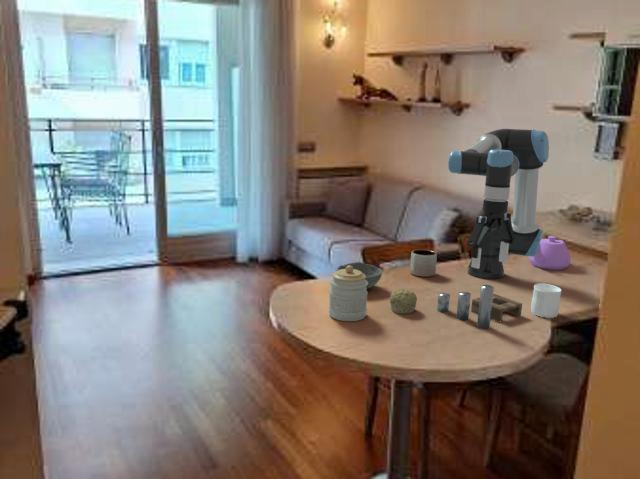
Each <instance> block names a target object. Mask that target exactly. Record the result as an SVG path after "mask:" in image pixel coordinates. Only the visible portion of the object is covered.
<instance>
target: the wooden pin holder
mask: <svg viewBox="0 0 640 479" xmlns="http://www.w3.org/2000/svg"><path fill="white" fill-rule="evenodd" d="M479 302H480V297H476V298H473V299H472V301H471V310H470V312H472V313H474V314H476V315H478V312H479ZM522 309H523V303H522V302H519V301H516V300H513V299H510V298H508V297H505V296H502V295H499V294H496V293H493V300H492V310H491V319H490V320H492V321H494V320H495V321H494V322H497V323H501V322H503V314H504V312H505V313H507V314H510V313H511V315H513V314H514V316H516V317H520V315H521V316H522ZM500 321H501V322H500Z"/></svg>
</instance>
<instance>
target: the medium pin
mask: <svg viewBox="0 0 640 479" xmlns="http://www.w3.org/2000/svg"><path fill="white" fill-rule="evenodd" d="M471 296H472V294H471V293H470V292H468V291H459V292H458V296H457V305H456V320H458V321H462V322H463V321H468V320H469V318H470V316H469V315H470V307H471V306H470V305H471Z"/></svg>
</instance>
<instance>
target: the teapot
mask: <svg viewBox="0 0 640 479" xmlns="http://www.w3.org/2000/svg"><path fill="white" fill-rule="evenodd" d="M547 237H548V238H541V241H540V245H539V248H538V251H537V254H536V255H535V256H533V257H531V256H528V260H529V262H530V263H531V264H532V266H534V267H536V268H539V269H543V270H550V271H551V270H552V271H562V270H566V269H567V267H569V266H570V265H571V255H570V252H569V249H568V247H567V245H566V242H565V241H564V240H562V239H557V236H553V235H549V236H547Z"/></svg>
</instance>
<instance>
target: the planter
mask: <svg viewBox="0 0 640 479" xmlns="http://www.w3.org/2000/svg"><path fill="white" fill-rule="evenodd" d="M437 256H438V253H437V251H434V250H432V249H426V248H425V249H424V248H423V249H422V248H419V249H413V250H411V254H410V266H409V272H410V275H413V276H414V277H418V276H420V278H431V276H432V277H434V276H435V275H436V272H437V259H438V258H437Z"/></svg>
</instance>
